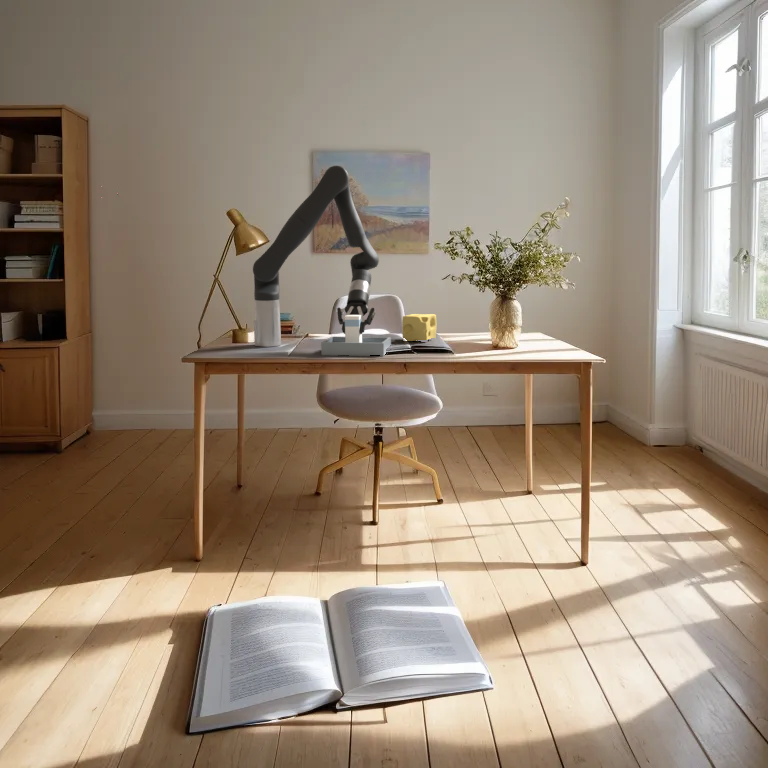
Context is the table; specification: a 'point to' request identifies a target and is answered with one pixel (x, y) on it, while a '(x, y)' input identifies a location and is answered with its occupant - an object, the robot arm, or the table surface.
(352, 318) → the milk carton
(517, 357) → the table surface
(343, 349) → the tray
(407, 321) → the cheese
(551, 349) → the table surface
